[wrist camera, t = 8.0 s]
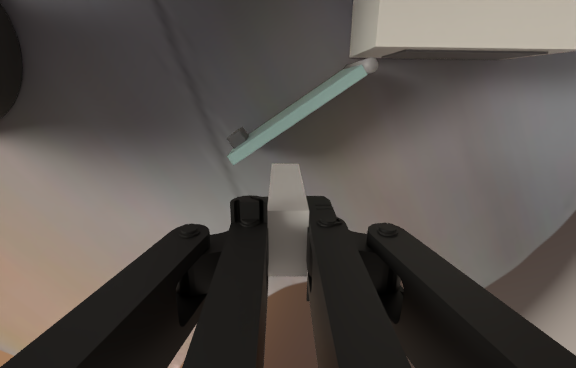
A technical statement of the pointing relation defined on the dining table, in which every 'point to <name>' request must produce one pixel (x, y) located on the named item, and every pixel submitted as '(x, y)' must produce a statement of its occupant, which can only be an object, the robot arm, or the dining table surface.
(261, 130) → the side door
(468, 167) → the dining table surface
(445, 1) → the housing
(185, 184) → the dining table surface
